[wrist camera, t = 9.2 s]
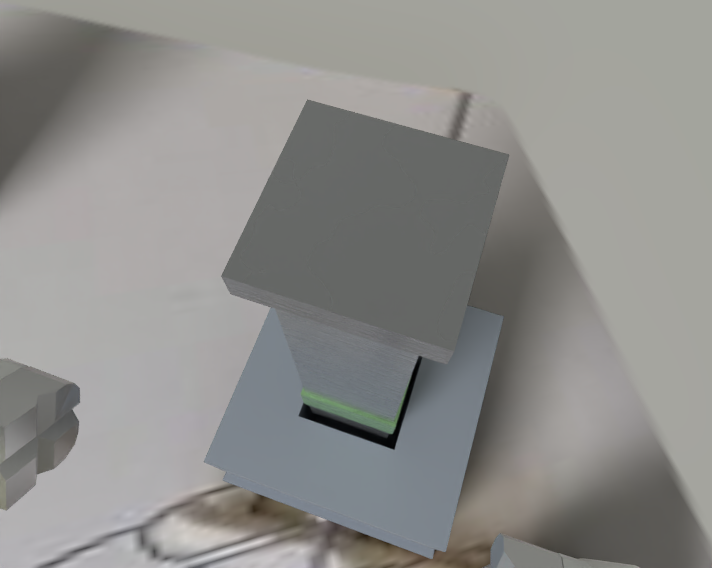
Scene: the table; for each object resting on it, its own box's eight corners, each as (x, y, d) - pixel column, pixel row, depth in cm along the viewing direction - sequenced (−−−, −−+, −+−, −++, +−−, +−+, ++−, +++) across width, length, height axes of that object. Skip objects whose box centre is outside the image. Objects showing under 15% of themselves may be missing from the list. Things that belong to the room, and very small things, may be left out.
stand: (225, 481, 33) (182, 466, 25) (302, 295, 38) (288, 231, 30) (430, 558, 32) (458, 570, 23) (482, 353, 37) (521, 302, 28)
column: (297, 420, 28) (221, 276, 12) (332, 329, 30) (307, 99, 14) (394, 454, 27) (453, 351, 11) (423, 359, 29) (509, 154, 13)
